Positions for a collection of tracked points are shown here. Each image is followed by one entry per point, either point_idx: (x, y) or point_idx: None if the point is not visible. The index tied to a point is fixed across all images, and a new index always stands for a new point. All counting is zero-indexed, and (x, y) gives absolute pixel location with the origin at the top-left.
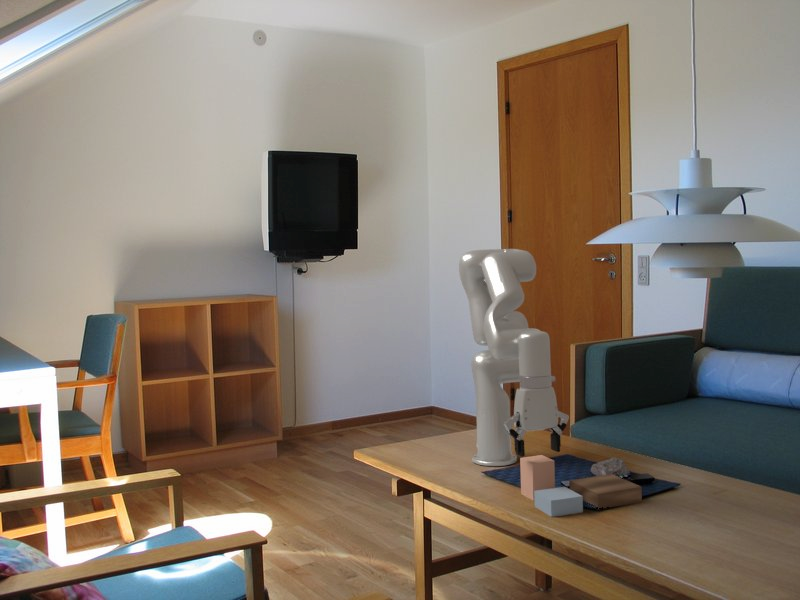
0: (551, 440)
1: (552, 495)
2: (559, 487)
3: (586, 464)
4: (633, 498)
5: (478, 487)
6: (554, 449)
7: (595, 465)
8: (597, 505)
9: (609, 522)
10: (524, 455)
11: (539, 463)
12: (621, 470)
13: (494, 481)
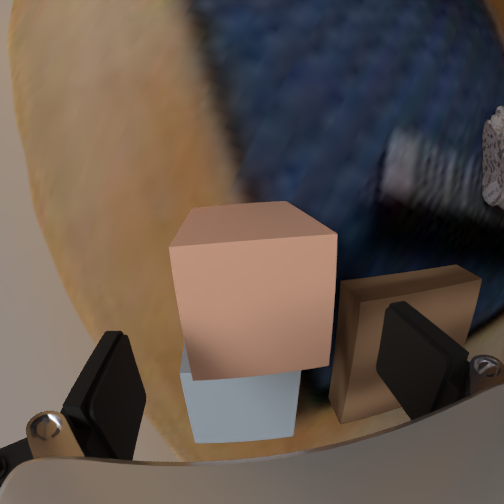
0: (417, 347)
1: (218, 418)
2: None
3: (491, 55)
4: None
5: (84, 83)
6: (383, 348)
7: (502, 153)
8: (331, 401)
9: (295, 451)
10: (145, 398)
11: (236, 375)
12: None
13: (168, 31)
